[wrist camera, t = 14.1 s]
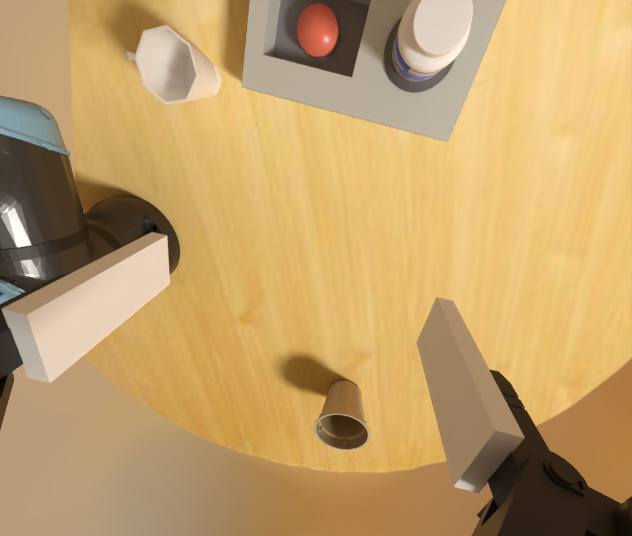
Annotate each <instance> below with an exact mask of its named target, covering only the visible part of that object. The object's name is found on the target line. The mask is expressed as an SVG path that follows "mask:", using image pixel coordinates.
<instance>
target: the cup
mask: <svg viewBox="0 0 632 536" xmlns="http://www.w3.org/2000/svg"><path fill="white" fill-rule="evenodd" d="M126 59H128V60H131V61H134V62H136V65H137V68H138V71H139V74H140V77H141V80H142V83H143V86H144V88H145V89H146V90H148V91H149V92H150V93H151V94H153V95H154V96H155V97H156V98H158V99H159V100H160V101H161V102H163V103H164V104H165V105H168V104H174V103H180V102H187V101H193V100H199V99H204V98H207V97H211V96H216V94H217V92H218V90H219V88H220V85H221V79H220V74H219V70H218V67H217V66H216V65H214V64H213V63H212V62H211V61H210V60H209V59H208V58H207V57H206V56H205V55H204V54H202V53H201V52H200V51H199V50H198V49H196V48H195V47H194V46H193V45H192V44H190V43H189V42H188V41H187V40H185V39H184V38H183V37H181V36H180V35H179V34H178V33H177V32H175V31H174V30H173V29H172V28H170V27H169V26H168V25H163V26H159V27H155V28H151V29H147V30H143V32H142V35H141V38H140V41H139V44H138V47H137V50H136V53H132V52H129V51H126Z"/></svg>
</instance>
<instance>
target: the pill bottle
mask: <svg viewBox="0 0 632 536" xmlns="http://www.w3.org/2000/svg"><path fill="white" fill-rule="evenodd" d="M472 16H473V5H472V0H413V1H412V2H411V3H410V4H409V6H408V7H407V9H406V11H405V13H404V15H403V17H402V19H401V22H400V25H399V28H398V31H397V35H396V38H395V41H394V45H393V62H394V65H395V68H396V70H397V71H398V73H399V74H400V75H401V76H402V77H403V78H405V79H407V80H410V81H423V80H427V79H429V78H431V77H433V76H434V75H435V74H436V73H438V72H439V71H440V70H442V69H443V68H445V67H446V66H447V65H448V64H450V63H451V62H452V61H453V60H454V59H455V58H456V57H457V56H458V55H459V53H460V52H461V50H462V49H463V47H464V45H465V44H466V41H467V39H468V36H469V33H470V28H471V21H472Z"/></svg>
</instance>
